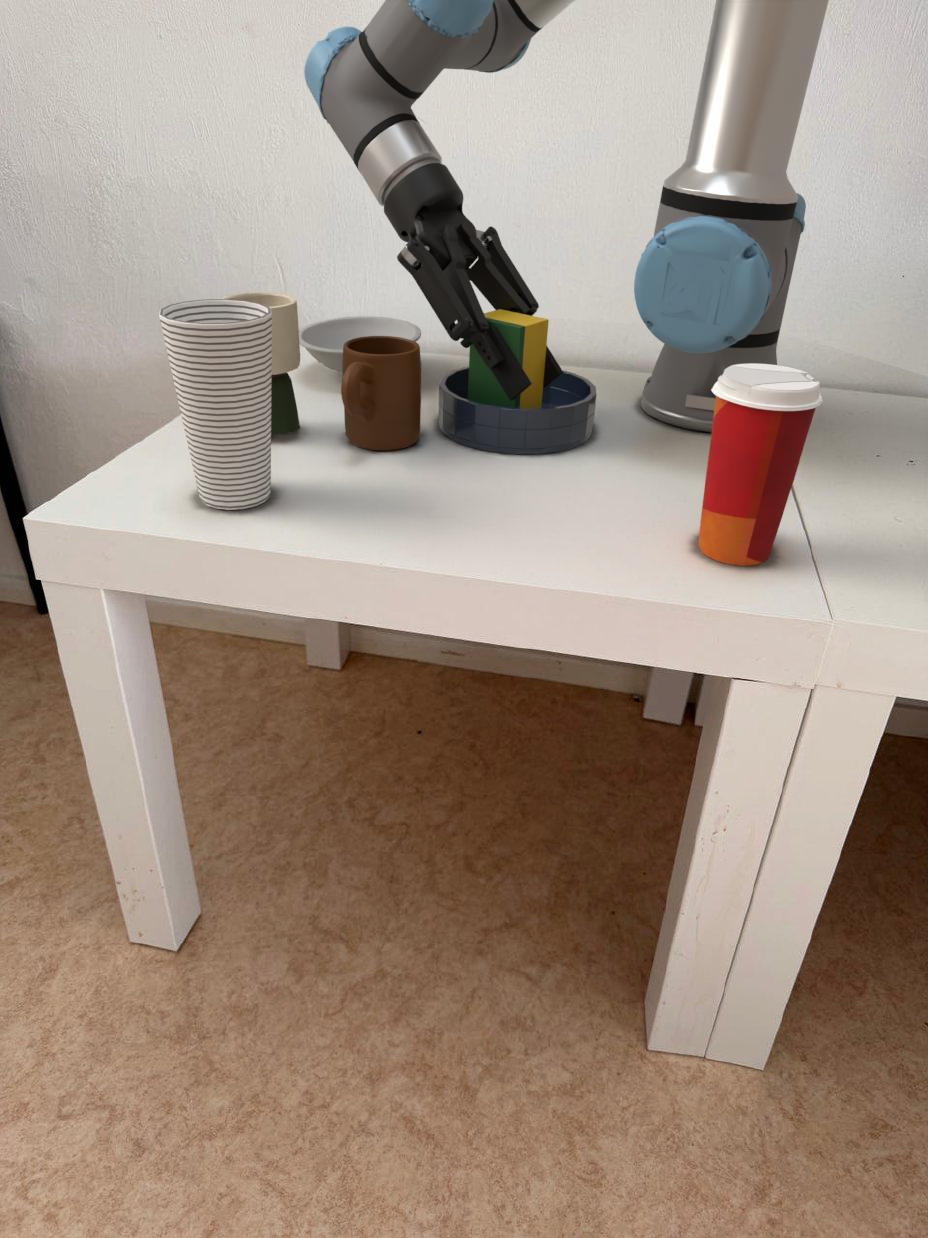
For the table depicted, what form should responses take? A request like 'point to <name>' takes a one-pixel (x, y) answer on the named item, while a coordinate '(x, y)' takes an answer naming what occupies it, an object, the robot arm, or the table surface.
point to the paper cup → (753, 458)
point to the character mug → (281, 357)
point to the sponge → (530, 352)
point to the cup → (224, 395)
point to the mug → (381, 392)
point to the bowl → (519, 417)
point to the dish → (350, 335)
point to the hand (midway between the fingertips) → (536, 385)
